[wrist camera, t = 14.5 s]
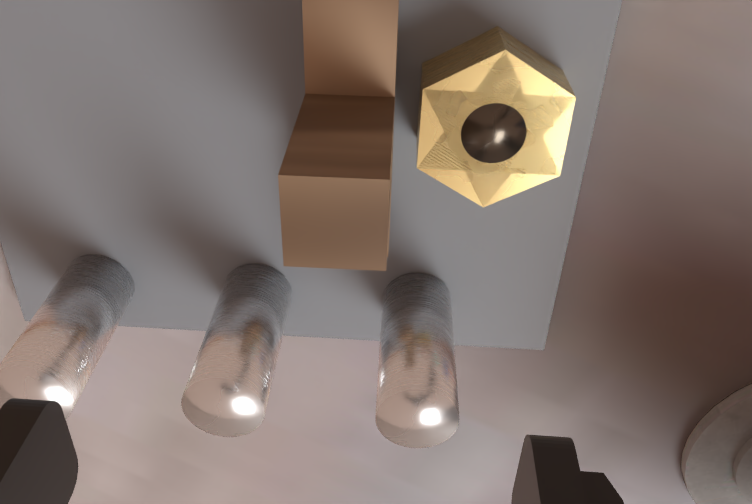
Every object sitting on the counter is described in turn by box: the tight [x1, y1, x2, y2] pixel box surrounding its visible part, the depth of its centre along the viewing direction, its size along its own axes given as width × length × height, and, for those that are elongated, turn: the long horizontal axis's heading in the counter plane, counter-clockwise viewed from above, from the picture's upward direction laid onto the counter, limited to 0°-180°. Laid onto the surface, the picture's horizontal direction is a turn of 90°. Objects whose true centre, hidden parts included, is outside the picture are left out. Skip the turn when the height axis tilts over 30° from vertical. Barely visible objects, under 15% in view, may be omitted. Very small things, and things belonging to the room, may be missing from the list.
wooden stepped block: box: [278, 0, 399, 271], centre depth 23 cm, size 10×3×8 cm, turn 179°
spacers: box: [0, 254, 459, 448], centre depth 23 cm, size 22×17×7 cm
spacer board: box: [0, 0, 622, 350], centre depth 27 cm, size 24×24×1 cm
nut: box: [417, 26, 576, 207], centre depth 25 cm, size 6×5×2 cm
